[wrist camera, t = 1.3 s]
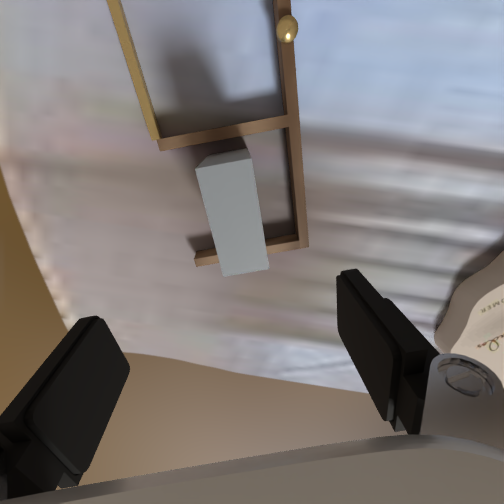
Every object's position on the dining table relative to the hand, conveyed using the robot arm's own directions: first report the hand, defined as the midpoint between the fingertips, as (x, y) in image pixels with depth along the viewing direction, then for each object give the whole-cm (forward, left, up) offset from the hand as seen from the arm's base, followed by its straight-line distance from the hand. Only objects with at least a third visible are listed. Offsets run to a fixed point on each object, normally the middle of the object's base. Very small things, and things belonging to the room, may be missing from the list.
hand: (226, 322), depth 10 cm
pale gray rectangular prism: (0, 0, -20) cm, 20 cm away
